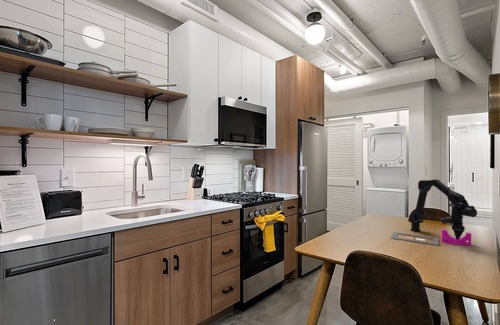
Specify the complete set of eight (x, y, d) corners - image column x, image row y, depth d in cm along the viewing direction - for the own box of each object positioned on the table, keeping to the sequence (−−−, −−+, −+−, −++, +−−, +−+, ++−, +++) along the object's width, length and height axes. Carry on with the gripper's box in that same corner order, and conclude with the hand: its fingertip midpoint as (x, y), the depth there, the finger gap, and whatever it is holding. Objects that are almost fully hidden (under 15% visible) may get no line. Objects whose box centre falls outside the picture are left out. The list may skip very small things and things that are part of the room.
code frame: (393, 232, 194) (393, 231, 194) (438, 238, 179) (438, 238, 179) (390, 238, 179) (390, 237, 179) (439, 245, 164) (439, 244, 164)
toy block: (441, 242, 172) (442, 231, 172) (441, 240, 177) (441, 229, 177) (471, 247, 163) (471, 235, 163) (470, 244, 168) (470, 232, 168)
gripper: (440, 210, 181) (440, 232, 182) (442, 214, 166) (442, 239, 166) (461, 212, 175) (460, 235, 175) (465, 217, 160) (464, 242, 160)
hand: (456, 238), depth 169 cm, fingers open, 9 cm apart
